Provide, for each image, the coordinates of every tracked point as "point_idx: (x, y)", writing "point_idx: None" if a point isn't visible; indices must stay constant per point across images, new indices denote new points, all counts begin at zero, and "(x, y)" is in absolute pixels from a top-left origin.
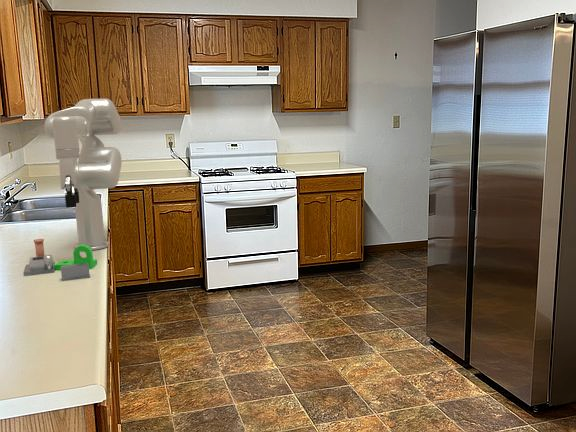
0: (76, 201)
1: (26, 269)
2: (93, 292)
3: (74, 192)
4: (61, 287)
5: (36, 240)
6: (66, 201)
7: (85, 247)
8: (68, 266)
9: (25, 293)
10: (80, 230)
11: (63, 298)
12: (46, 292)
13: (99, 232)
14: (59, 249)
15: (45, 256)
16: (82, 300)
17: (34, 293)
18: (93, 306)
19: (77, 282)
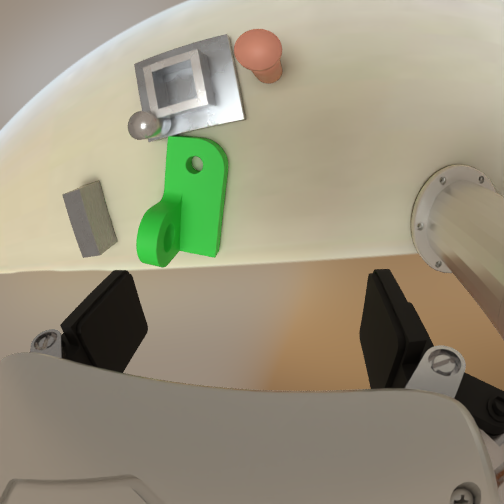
0: (364, 327)
1: (162, 58)
2: (34, 259)
3: (384, 385)
4: (49, 197)
5: (243, 43)
6: (94, 299)
7: (139, 257)
8: (71, 211)
9: (29, 138)
10: (470, 209)
11: (14, 217)
12: (30, 177)
13: (452, 271)
14: (469, 115)
15: (136, 119)
16: (12, 247)
17: (28, 156)
18: (3, 263)
19: None
